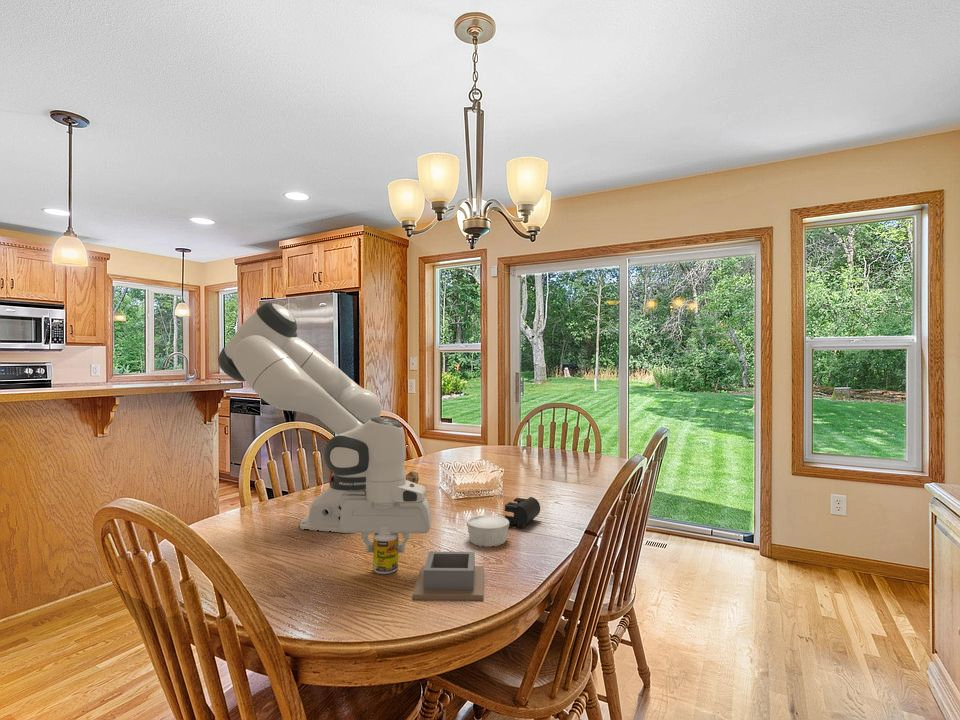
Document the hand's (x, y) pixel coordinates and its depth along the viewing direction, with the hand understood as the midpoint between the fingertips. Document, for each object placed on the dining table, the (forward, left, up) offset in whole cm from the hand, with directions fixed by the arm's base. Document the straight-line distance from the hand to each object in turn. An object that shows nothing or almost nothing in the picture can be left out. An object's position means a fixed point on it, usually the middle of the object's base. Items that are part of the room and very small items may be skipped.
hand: (385, 551), depth 117 cm
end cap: (+33, +33, -4) cm, 47 cm away
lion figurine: (-7, +59, -4) cm, 59 cm away
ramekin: (+23, +19, -4) cm, 30 cm away
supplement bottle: (0, 0, -4) cm, 4 cm away
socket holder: (+15, -7, -4) cm, 17 cm away
